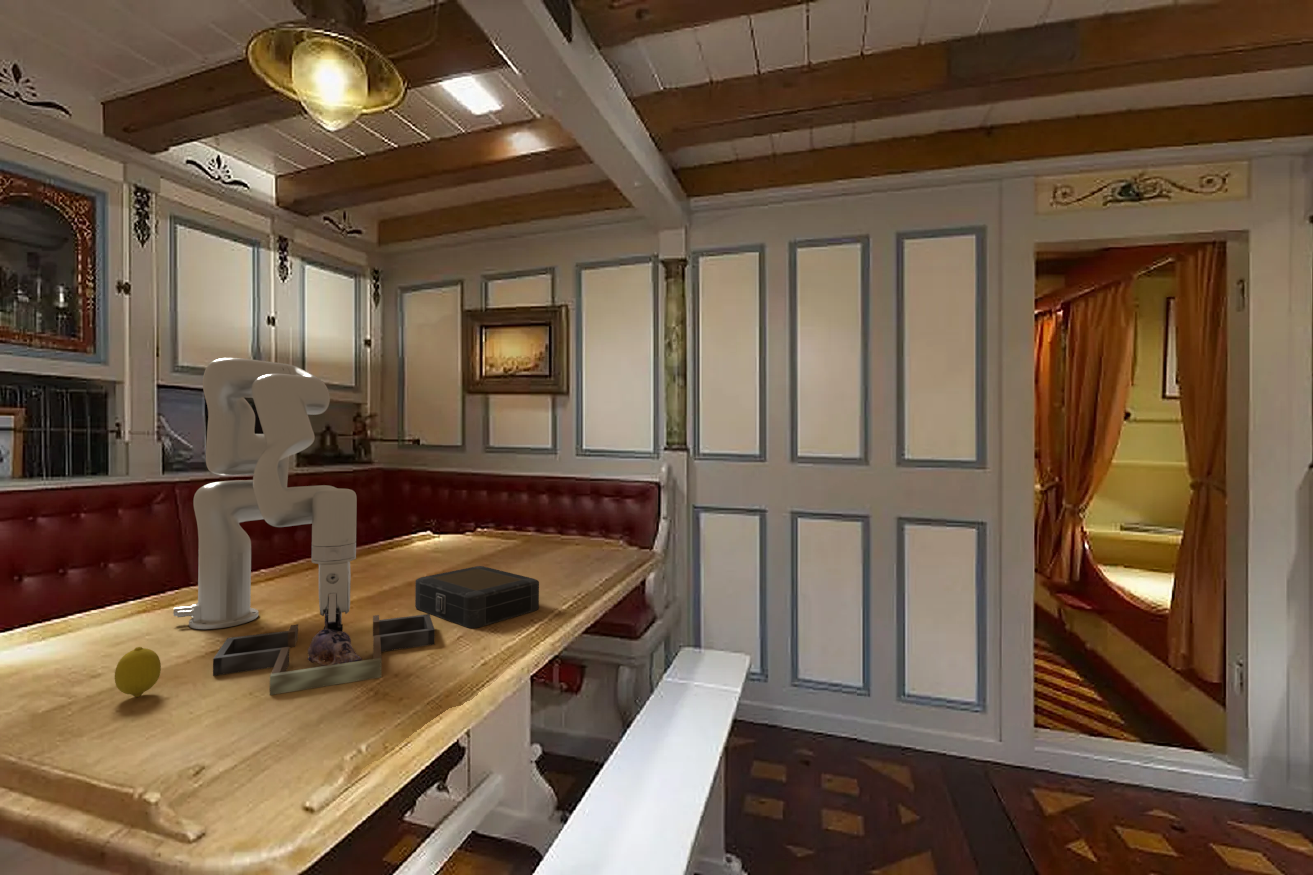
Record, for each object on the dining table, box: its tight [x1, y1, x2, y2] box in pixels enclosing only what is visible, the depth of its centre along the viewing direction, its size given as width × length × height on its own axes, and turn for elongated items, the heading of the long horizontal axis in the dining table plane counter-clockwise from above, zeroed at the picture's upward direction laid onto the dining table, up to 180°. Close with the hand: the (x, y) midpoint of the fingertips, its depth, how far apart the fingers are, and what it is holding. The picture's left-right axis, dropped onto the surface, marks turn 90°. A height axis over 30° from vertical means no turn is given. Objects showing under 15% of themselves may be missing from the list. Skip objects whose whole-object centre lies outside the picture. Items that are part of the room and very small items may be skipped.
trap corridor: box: [212, 613, 436, 696], centre depth 110 cm, size 36×28×3 cm
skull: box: [307, 628, 363, 667], centre depth 105 cm, size 12×8×6 cm, turn 51°
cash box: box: [414, 565, 540, 629], centre depth 141 cm, size 25×20×8 cm
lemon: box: [114, 646, 162, 698], centre depth 92 cm, size 6×6×8 cm
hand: (332, 646), depth 112 cm, fingers closed
